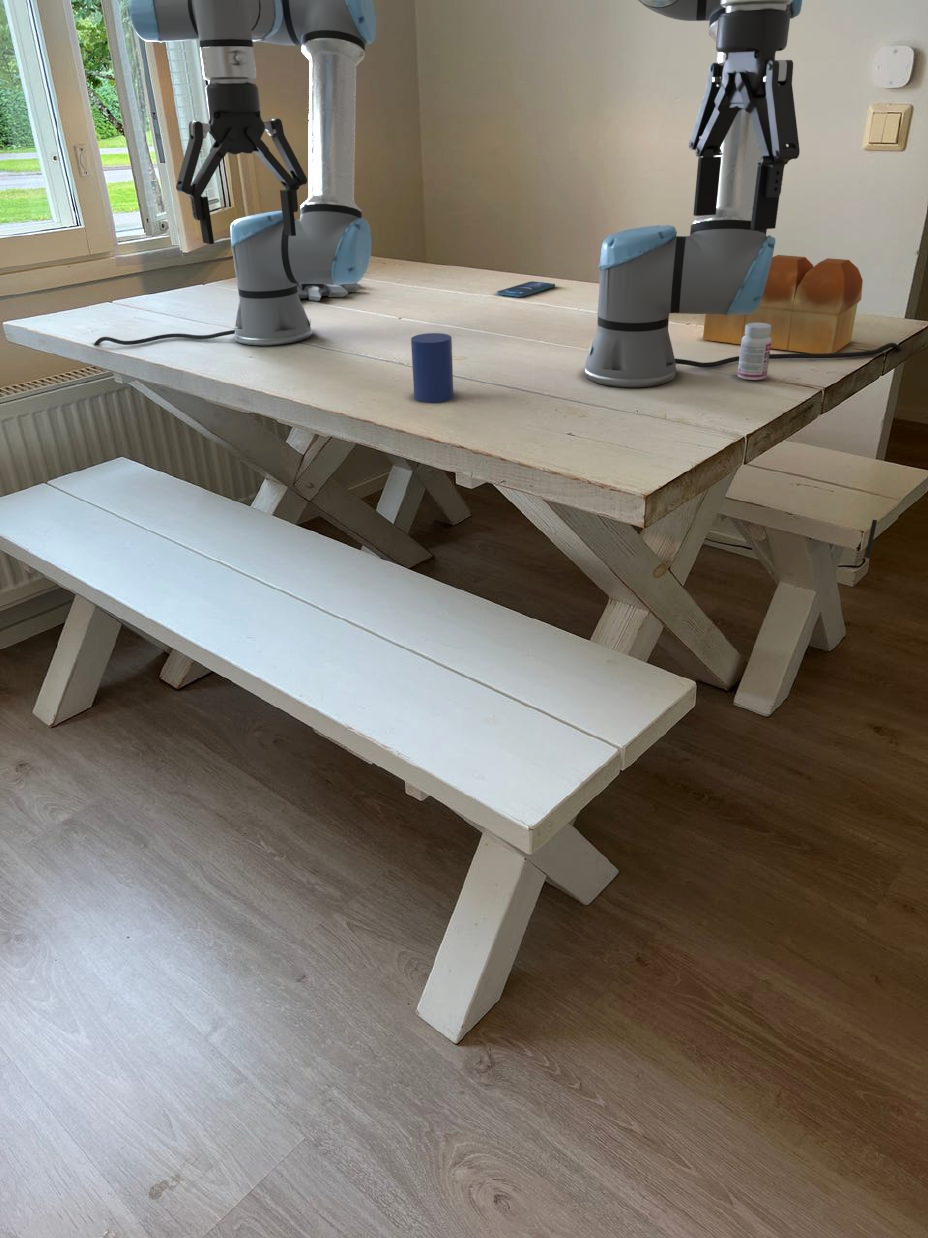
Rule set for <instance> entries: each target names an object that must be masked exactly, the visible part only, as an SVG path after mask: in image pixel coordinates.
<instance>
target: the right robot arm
mask: <svg viewBox="0 0 928 1238" xmlns="http://www.w3.org/2000/svg"><path fill="white" fill-rule="evenodd" d="M638 2H639V3H640V4H642V5H643V6H644V7H645V8H647V9H649V10H650V11H652V12H655V13H657V14H659V15H660V16H661V15H662V16H664V17H666V18H669V19H672V20H673V19H674V20H677V21H684V22H685V21H686V22H704V21H707V22H709V23H708V35H709V36H710V38H711V39H712V40H713V42H715V50H716V57H715V59H716V60H715V62H710V64H709V66H708V71H707V77H706V78H707V79H706V85H705V87H704V88H705V89H704V92H703V95H702V99H701V102H700V105H699V107H698V108H699V109H698V112H697V116H696V118H695V122H694V124H693V125H694V126H693V129H692V133H691V135H690V137H689V138H690V139H689V142H688V148H689V150H690V151H694V152H695V156H696V157H698V158H697V159H698V160H697V170H696V179H695V181H696V182H695V193H694V202H693V203H694V204H693V214H692V215H693V216H694V217H696V218H695V219H694V220H693V221H692V222H691V223H690V232H689V235H686V236H685V235H684V236H683V235H677V234H678V231H677V228H676V227H675V226H674V225H668V224H666V225H648V226H641V227H634V228H629V229H625V230H620V231H618V232H614V233H612V234H609V235H608V236H607V237H606V238H605V239H603V241H602V244H601V248H600V249H601V250H600V260H599V264H598V270H599V284H598V302H597V304H598V307H597V326H596V332H595V334H594V337H593V339H592V342H591V343H590V344H589V347H588V350H587V352H588V354H587V356H586V360H585V364H584V377H585V378H587V379H588V381H591V382H594V383H596V384H599V385H604V386H609V387H618V388H619V387H620V388H645V387H654V386H655V387H656V386H660V385H663V384H666V383H669V382H672V381H673V380H674V379H675V378H676V372H677V368H676V367H677V365H685V366H690V367H691V366H692V367H696V368H702V369H703V368H705V369H706V368H715V367H719V366H723V365H727V364H731V363H735V362H739V357H740V355H737V356H732V357H728V358H724V359H720V360H716V361H710V362H702V361H701V362H700V361H695V360H691V359H683V358H675V353H674V350H673V345H672V341H671V336H670V332H669V321H670V314H684V315H685V314H687V315H689V314H690V315H693V314H694V315H697V314H698V315H705V314H724V315H726V316H729V315H734V314H750V313H753V312H754V311H755V310H756V309H757V308H758V307H759V305H760V302H761V299H762V296H763V293H764V289H765V286H766V282H767V278H768V274H769V270H770V266H771V261H772V257H774V251H775V247H776V238H775V237H774V236H772V235H767V231H768V230H773V229H776V226H777V219H778V211H779V202H780V196H781V193H782V186H783V177H784V173H785V172H784V170H785V167H786V165H787V164H789V162H790V161H791V160H796V159H798V158H799V157H800V154H801V153H800V151H801V149H800V142H799V133H798V124H797V123H798V122H797V116H796V108H795V99H794V89H793V74H794V61H793V60H792V59H776V53H777V52H782V51H784V50H785V49H786V47H787V45H788V41H789V40H788V39H789V32H790V23H791V19H794V18H796V17H798V16H799V15H800V14H801V12H802V6H803V0H638ZM888 349H894V350H895V351H896V352H902V348H901V347H900V346H899V345H898V343H896V342H889V343H886V344H884V345H882V346H880V347H878V348H876V349H871V350H862V351H850V352H848V351H847V352H835V353H825V354H813V353H770V356H769V360H783V359H784V360H785V359H790V360H791V359H809V360H810V359H811V360H812V359H818V360H819V359H843V358H844V359H845V358H859V357H869V356H874V355H878V354H881V353H883V352H885V351H886V350H888ZM877 524H878V520H877V519H872V521H871V526H870V530H869V534H868V541H867V546H866V551H865V557H866V558H869V557H871V553H872V548H873V542H874V539H875V533H876V528H877Z"/></svg>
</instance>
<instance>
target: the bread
mask: <svg viewBox="0 0 928 1238" xmlns="http://www.w3.org/2000/svg"><path fill="white" fill-rule="evenodd" d="M863 281H864V280H863V277H862V275H861V272H860V270H859V268H858V267H857V266H856V265H855V264H854V263H853V262H852V261H851V260H850V259H843V258H842V259H841V258H829V257H827V258H825V259H823V260H821V261H819V262H818V263H816V264H815V265H814V264H813V263H812V262H811V261H810V260H809V259H808V258H807V257H806V256H798V255H797V256H796V255H785V254H783V255H782V254H776V255H773V257H772V261H771V266H770V270H769V274H768V278H767V282H766V286H765V289H764V293H763V296H762V299H761V302H760V305H759V307H758V308H757V309H756V310H755V311H754V312H753V313H750V314H734V315H729V316H726V315H724V314H704V324H703V335H702V340H704V341H712V342H720V343H726V344H735V345H741V341H742V338H743V337H744V336H745V335H746V334H745V327H746V324H748V323H766V324H770V325H771V333H770V335H769V337H770V338H771V349H775V350H783V351H789V352H790V351H791V352H798V353H804V354H825V353H838V351H840V350H841V349H843V348H844V347H845V346H847V345H848V344H850V343H851V342H852V339H853V338H852V336H853V333H854V332H853V331H854V326H855V320H856V314H857V309H858V304H859V302H861V301H862V293H863V283H864V282H863Z"/></svg>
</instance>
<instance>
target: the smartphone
mask: <svg viewBox="0 0 928 1238" xmlns="http://www.w3.org/2000/svg"><path fill="white" fill-rule="evenodd" d="M554 287H556V284H555V283H551V282H544V281H543V282H542V281H527V282H523V283H521V284H517V285H515V286H510V287H507V288H504V289H501V290H497V291H496V295H500V296H508V297H517V298H523V297H527V296H529V295H532V294H536V293H539V292H542V291H546V290H549V289H552V288H554Z"/></svg>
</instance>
